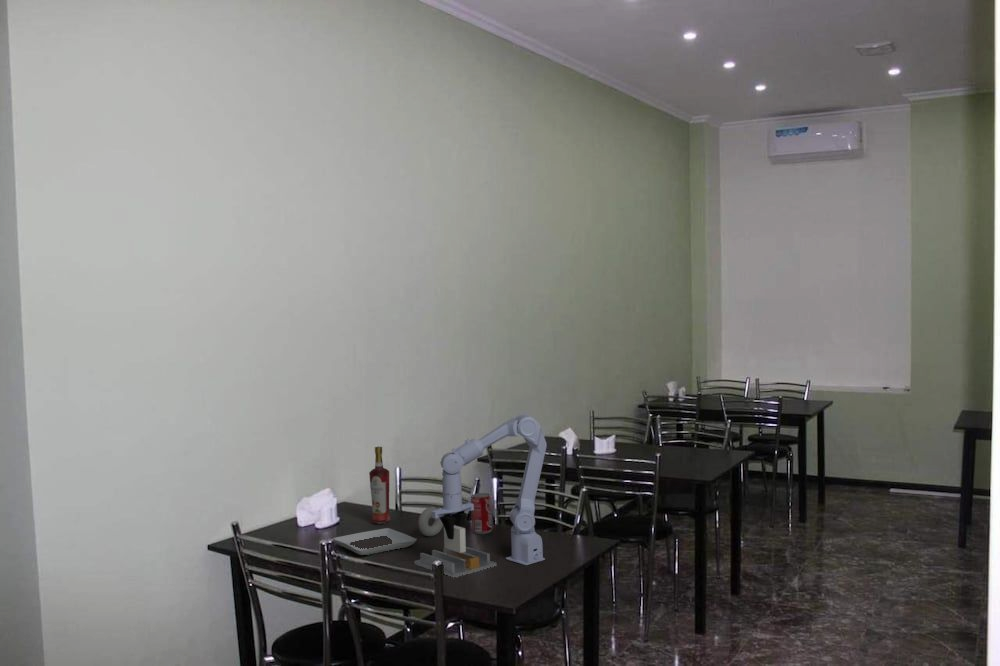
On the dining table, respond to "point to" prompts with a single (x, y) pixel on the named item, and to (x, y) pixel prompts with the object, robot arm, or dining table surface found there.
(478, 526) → the soda can
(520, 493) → the robot arm
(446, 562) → the rack
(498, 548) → the dining table surface
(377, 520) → the liquor
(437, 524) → the donut
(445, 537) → the panel
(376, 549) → the salad plate
